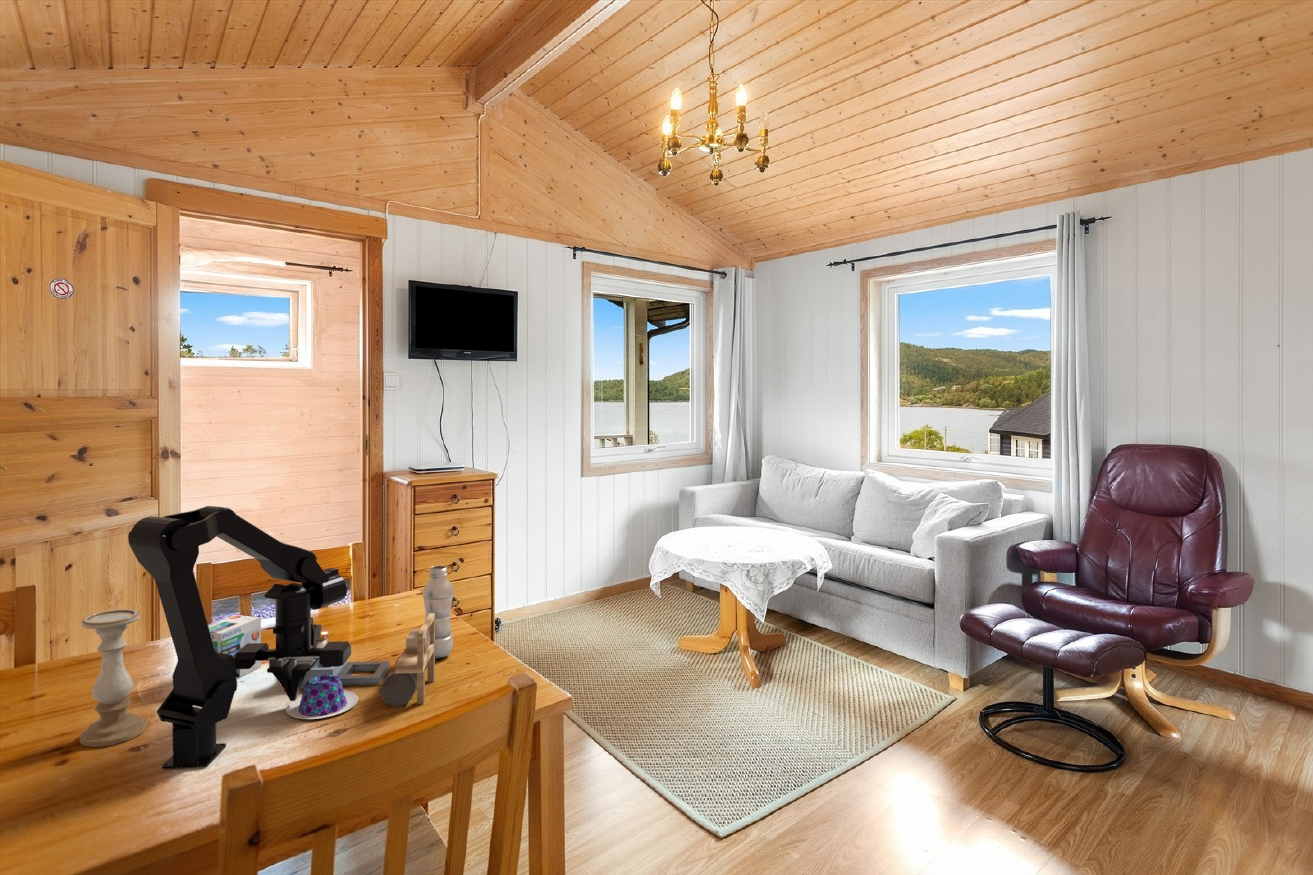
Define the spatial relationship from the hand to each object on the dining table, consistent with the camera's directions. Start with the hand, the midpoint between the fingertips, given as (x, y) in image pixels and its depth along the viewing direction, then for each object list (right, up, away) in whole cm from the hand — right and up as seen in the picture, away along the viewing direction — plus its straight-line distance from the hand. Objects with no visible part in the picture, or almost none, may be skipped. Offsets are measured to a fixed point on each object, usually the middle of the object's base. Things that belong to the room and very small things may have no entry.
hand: (293, 700), depth 126 cm
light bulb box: (-20, 0, +13) cm, 24 cm away
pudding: (+5, -2, +1) cm, 5 cm away
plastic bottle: (+18, 0, +26) cm, 32 cm away
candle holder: (-24, -2, -11) cm, 27 cm away
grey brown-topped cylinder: (-2, 0, +13) cm, 13 cm away
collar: (+7, -1, +14) cm, 16 cm away
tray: (-2, -1, +13) cm, 13 cm away
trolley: (+19, -1, +8) cm, 20 cm away
